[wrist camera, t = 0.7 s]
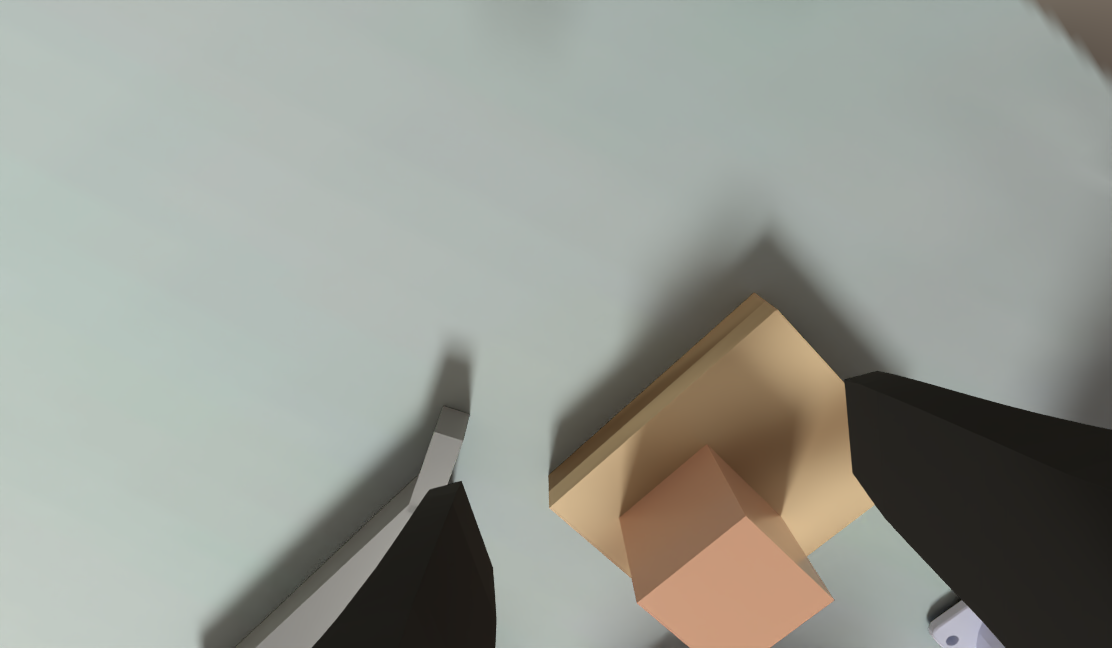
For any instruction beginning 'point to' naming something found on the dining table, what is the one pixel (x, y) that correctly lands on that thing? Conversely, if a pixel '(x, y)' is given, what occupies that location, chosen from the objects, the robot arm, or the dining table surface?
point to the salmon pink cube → (718, 560)
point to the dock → (359, 551)
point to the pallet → (725, 434)
